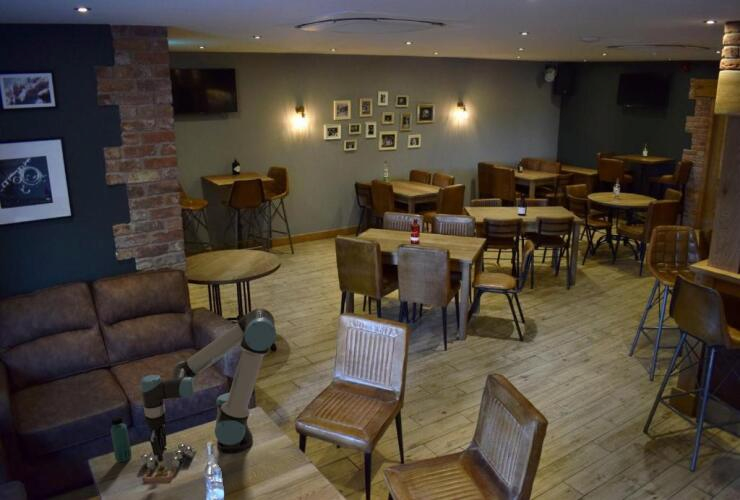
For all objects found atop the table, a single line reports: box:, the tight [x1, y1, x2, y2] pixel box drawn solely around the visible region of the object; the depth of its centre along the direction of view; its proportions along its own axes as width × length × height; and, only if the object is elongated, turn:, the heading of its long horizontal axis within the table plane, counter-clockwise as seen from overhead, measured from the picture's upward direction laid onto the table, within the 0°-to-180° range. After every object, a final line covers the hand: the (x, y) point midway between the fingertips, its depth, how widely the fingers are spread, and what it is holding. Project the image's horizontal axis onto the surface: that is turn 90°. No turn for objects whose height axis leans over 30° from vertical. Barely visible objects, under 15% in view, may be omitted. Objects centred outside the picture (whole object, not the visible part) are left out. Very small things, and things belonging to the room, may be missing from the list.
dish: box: [142, 467, 177, 483], centre depth 230 cm, size 11×6×3 cm, turn 91°
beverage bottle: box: [110, 415, 132, 463], centre depth 241 cm, size 6×7×20 cm
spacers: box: [140, 443, 194, 473], centre depth 238 cm, size 19×12×5 cm, turn 91°
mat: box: [138, 450, 198, 473], centre depth 240 cm, size 20×13×1 cm, turn 91°
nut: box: [155, 466, 169, 477], centre depth 231 cm, size 4×5×3 cm
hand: (162, 466), depth 234 cm, fingers closed
